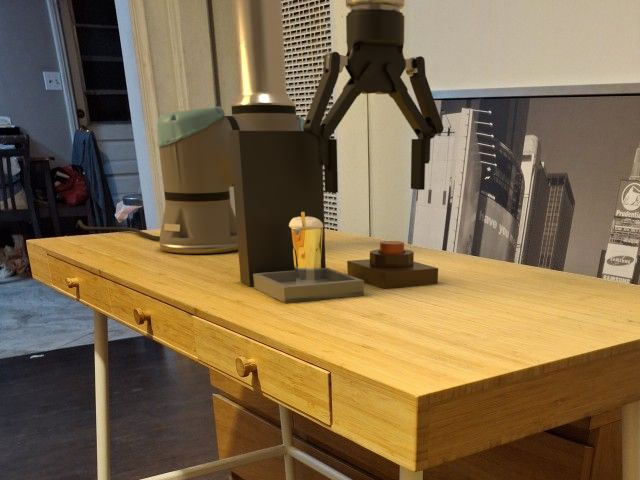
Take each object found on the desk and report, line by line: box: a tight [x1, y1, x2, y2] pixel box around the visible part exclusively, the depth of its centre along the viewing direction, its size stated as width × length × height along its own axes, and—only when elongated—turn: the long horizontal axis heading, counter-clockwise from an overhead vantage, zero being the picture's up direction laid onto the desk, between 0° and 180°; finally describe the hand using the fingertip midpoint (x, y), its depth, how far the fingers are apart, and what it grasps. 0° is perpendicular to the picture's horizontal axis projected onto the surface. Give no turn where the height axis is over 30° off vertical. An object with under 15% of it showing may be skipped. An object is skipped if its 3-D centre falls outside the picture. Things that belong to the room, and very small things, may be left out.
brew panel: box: [346, 248, 439, 290], centre depth 113 cm, size 12×9×4 cm
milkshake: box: [289, 212, 323, 285], centre depth 102 cm, size 5×5×10 cm
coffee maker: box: [229, 130, 365, 304], centre depth 103 cm, size 17×12×20 cm
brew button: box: [379, 240, 405, 254], centre depth 112 cm, size 4×4×2 cm
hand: (375, 190), depth 106 cm, fingers open, 13 cm apart
